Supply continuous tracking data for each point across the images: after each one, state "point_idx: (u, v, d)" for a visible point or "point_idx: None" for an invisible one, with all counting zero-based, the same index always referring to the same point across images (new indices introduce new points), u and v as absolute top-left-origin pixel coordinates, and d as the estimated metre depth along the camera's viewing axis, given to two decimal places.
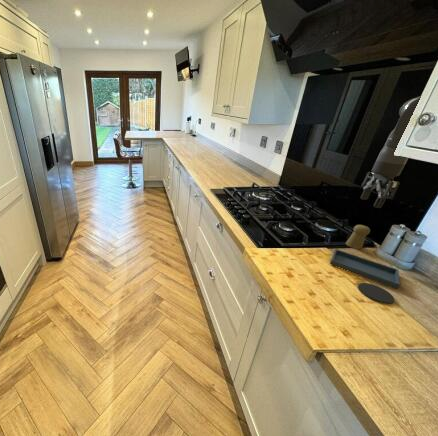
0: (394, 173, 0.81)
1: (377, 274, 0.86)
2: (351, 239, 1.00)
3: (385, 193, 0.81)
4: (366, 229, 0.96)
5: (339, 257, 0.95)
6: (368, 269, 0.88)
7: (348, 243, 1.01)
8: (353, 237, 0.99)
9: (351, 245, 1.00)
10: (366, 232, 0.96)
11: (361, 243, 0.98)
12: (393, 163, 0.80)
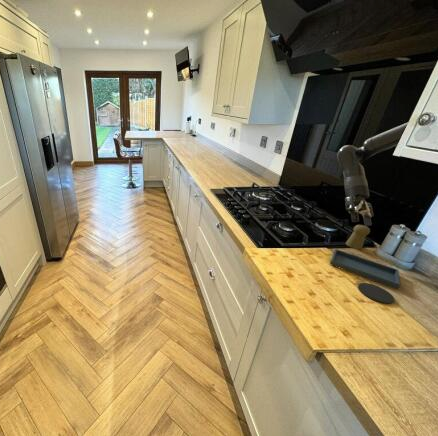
0: (352, 193, 0.99)
1: (377, 274, 0.86)
2: (351, 239, 1.00)
3: None
4: (366, 229, 0.96)
5: (339, 257, 0.95)
6: (368, 269, 0.88)
7: (348, 243, 1.01)
8: (353, 237, 0.99)
9: (351, 245, 1.00)
10: (366, 232, 0.96)
11: (361, 243, 0.98)
12: (347, 187, 1.01)
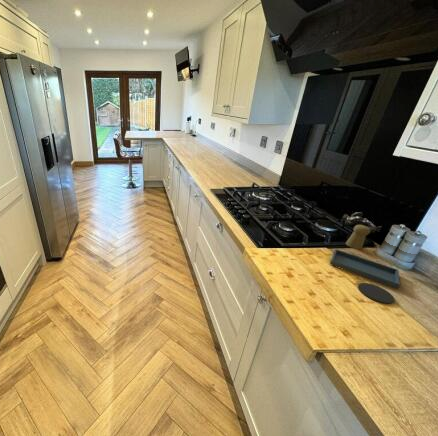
0: (351, 216, 1.18)
1: (377, 274, 0.86)
2: (351, 239, 1.00)
3: None
4: (366, 229, 0.96)
5: (339, 257, 0.95)
6: (368, 269, 0.88)
7: (348, 243, 1.01)
8: (353, 237, 0.99)
9: (351, 245, 1.00)
10: (366, 232, 0.96)
11: (361, 243, 0.98)
12: None
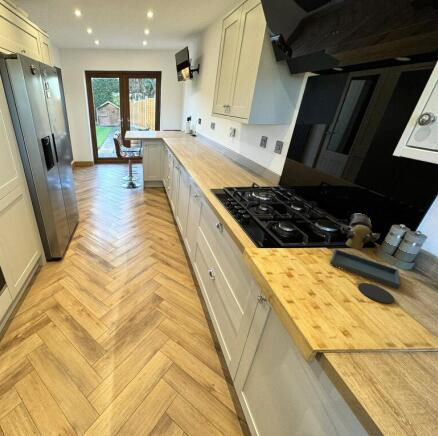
0: (349, 225, 1.09)
1: (377, 274, 0.86)
2: (351, 239, 1.00)
3: None
4: (366, 229, 0.96)
5: (339, 257, 0.95)
6: (368, 269, 0.88)
7: (348, 243, 1.01)
8: (353, 237, 0.99)
9: (351, 245, 1.00)
10: (366, 232, 0.96)
11: (361, 243, 0.98)
12: None
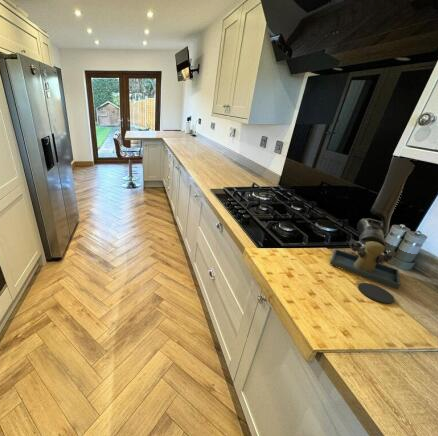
0: (359, 240, 0.96)
1: (377, 274, 0.86)
2: (362, 258, 0.87)
3: None
4: (380, 247, 0.83)
5: (339, 257, 0.95)
6: None
7: (359, 262, 0.88)
8: (365, 256, 0.86)
9: (362, 264, 0.87)
10: (380, 250, 0.83)
11: (374, 263, 0.85)
12: None
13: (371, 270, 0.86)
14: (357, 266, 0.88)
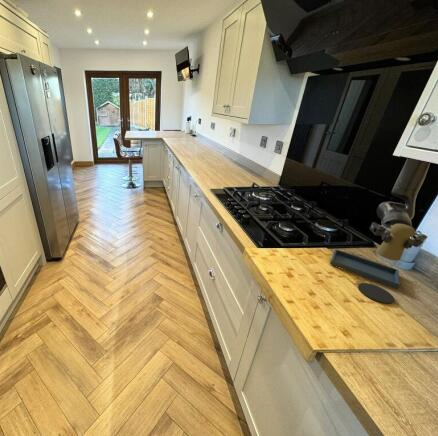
0: (382, 224, 0.84)
1: (377, 274, 0.86)
2: (387, 243, 0.75)
3: None
4: (410, 230, 0.71)
5: (339, 257, 0.95)
6: (368, 269, 0.88)
7: (382, 248, 0.76)
8: (390, 241, 0.74)
9: (386, 250, 0.75)
10: (410, 234, 0.71)
11: (401, 248, 0.73)
12: (381, 224, 0.86)
13: (397, 257, 0.74)
14: (381, 253, 0.77)
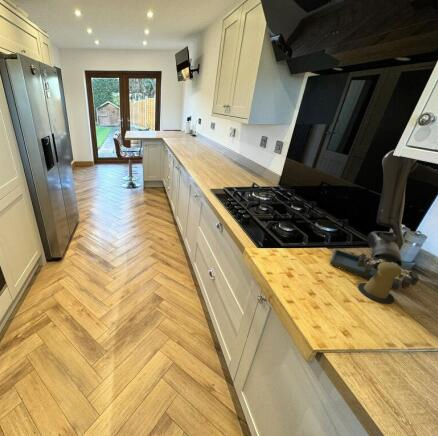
0: (372, 256, 0.83)
1: None
2: (374, 280, 0.75)
3: None
4: (396, 269, 0.71)
5: (339, 257, 0.95)
6: None
7: (370, 285, 0.76)
8: (378, 279, 0.74)
9: (374, 288, 0.75)
10: (396, 274, 0.71)
11: (388, 287, 0.73)
12: (371, 256, 0.86)
13: (385, 295, 0.74)
14: (368, 290, 0.77)
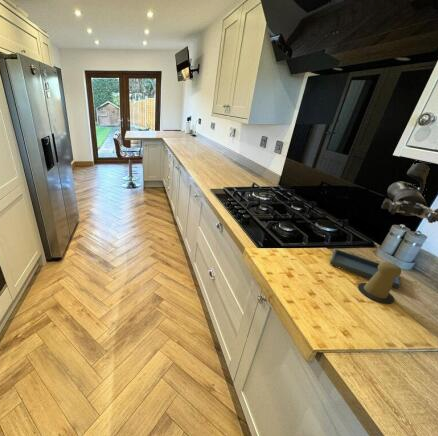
0: (395, 201, 0.84)
1: None
2: (374, 280, 0.75)
3: None
4: (396, 269, 0.71)
5: (339, 257, 0.95)
6: (368, 269, 0.88)
7: (370, 285, 0.76)
8: (378, 279, 0.74)
9: (374, 288, 0.75)
10: (396, 274, 0.71)
11: (388, 287, 0.73)
12: (393, 202, 0.87)
13: (385, 295, 0.74)
14: (368, 290, 0.77)
